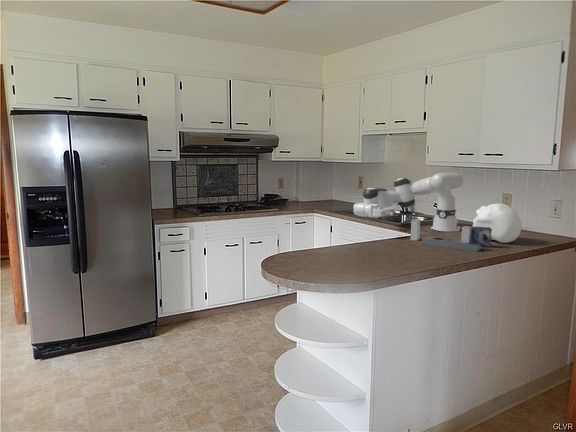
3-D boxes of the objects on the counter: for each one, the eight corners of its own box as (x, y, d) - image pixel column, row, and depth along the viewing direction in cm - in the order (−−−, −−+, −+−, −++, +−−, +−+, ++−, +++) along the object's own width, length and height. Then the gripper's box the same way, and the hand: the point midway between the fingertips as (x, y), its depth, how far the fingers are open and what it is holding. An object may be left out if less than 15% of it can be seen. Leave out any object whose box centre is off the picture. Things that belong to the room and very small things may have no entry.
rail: (426, 241, 243) (427, 221, 242) (481, 249, 225) (482, 227, 223) (421, 244, 238) (422, 223, 236) (477, 251, 219) (478, 229, 217)
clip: (413, 238, 253) (414, 219, 251) (419, 239, 250) (420, 220, 249) (410, 239, 250) (411, 220, 248) (416, 240, 247) (417, 220, 246)
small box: (469, 246, 231) (471, 228, 230) (468, 244, 238) (469, 226, 236) (490, 247, 228) (492, 229, 227) (488, 245, 234) (490, 227, 233)
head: (473, 223, 269) (502, 191, 252) (504, 256, 254) (536, 224, 236) (454, 226, 259) (482, 193, 241) (485, 260, 243) (517, 227, 225)
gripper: (383, 214, 272) (403, 215, 264) (368, 217, 257) (388, 219, 248) (383, 204, 271) (403, 206, 263) (368, 207, 256) (389, 209, 247)
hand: (396, 212), depth 255 cm, fingers open, 8 cm apart
